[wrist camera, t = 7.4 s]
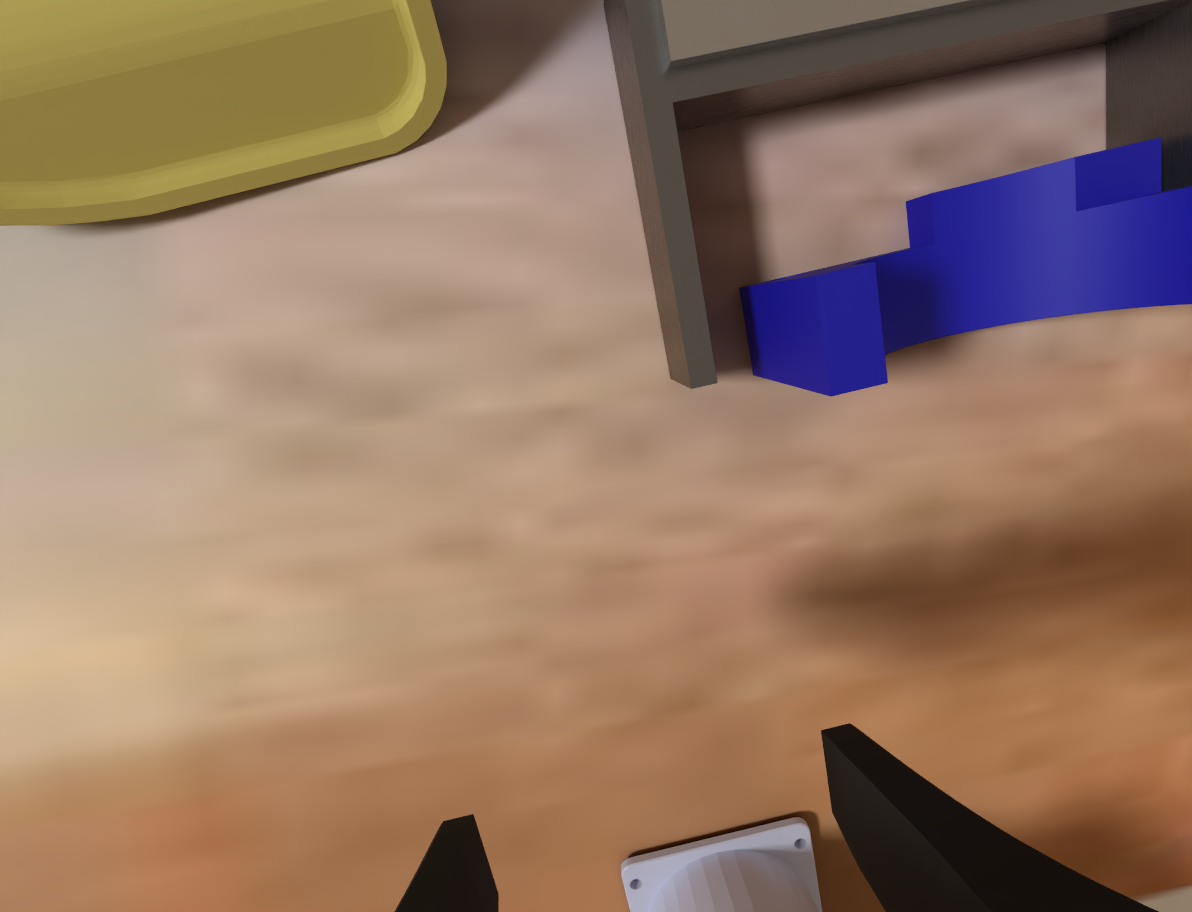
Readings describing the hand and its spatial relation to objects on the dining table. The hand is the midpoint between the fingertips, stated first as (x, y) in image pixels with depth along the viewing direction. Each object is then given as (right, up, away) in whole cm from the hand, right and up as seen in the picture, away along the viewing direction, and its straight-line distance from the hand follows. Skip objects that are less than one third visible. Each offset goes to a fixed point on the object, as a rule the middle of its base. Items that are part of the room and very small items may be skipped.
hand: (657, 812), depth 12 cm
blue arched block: (+10, +14, +9) cm, 19 cm away
